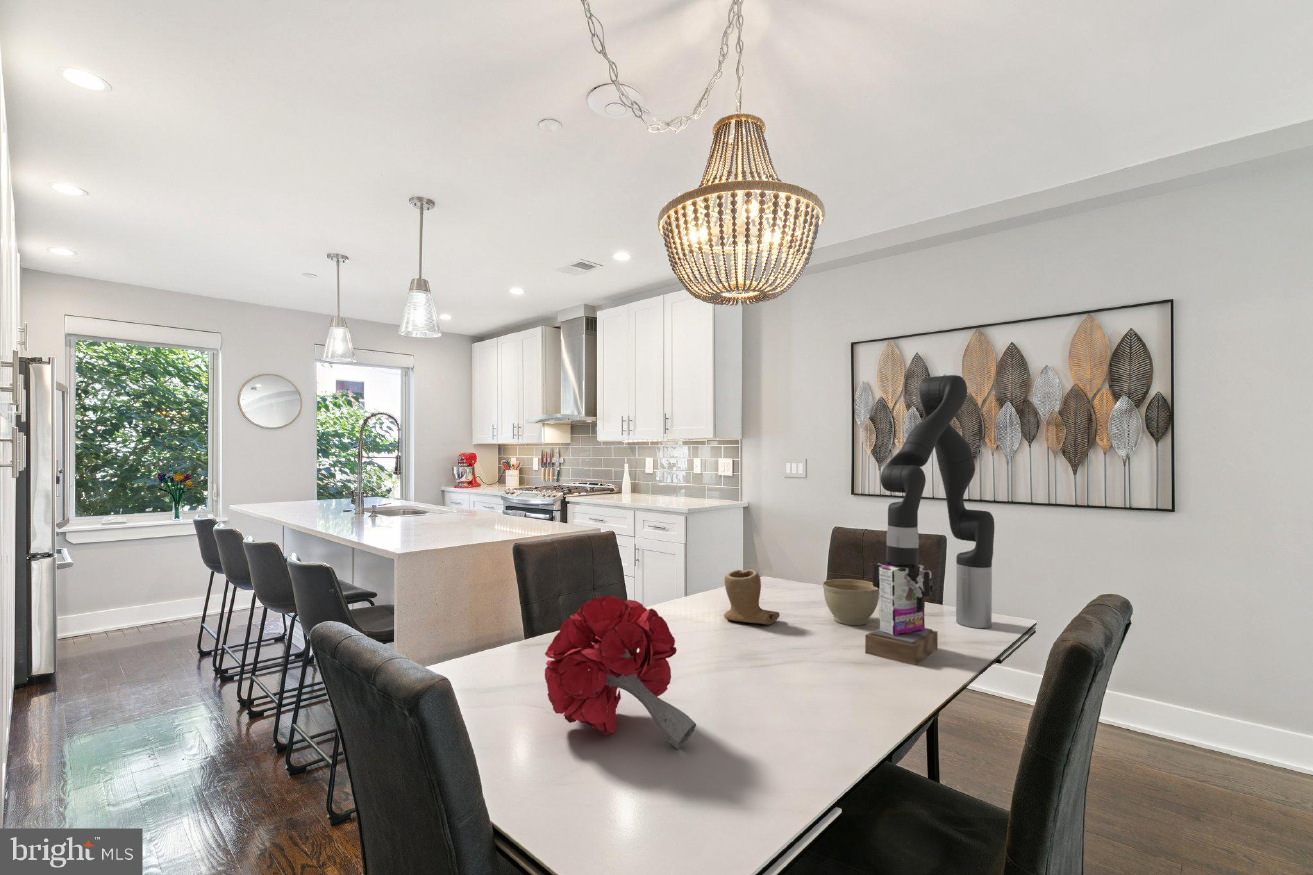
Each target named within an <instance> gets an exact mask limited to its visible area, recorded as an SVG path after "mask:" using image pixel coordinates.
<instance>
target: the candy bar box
mask: <svg viewBox="0 0 1313 875" xmlns="http://www.w3.org/2000/svg"><path fill="white" fill-rule="evenodd" d="M918 567H919V569H920V570H922V571H925V568H924V567H925V566H924V565H922V564H918ZM906 573H907V574H908V568H905V567H898V566H883V567H879V600H878V604H879V628H880V631H881V632H883V633H887V634H890V635H893V636H897V635H902V634H908V633H913V632H918V631H923V630H925V628H926V627H925V625H926V624H925V623H926V622H925V609H924V610H922V612H920V613H919V612H917V611H916V597H918V596H917V594H916V593H915V591H914V590H913V589H912V588H911V587H910V585H909V584H908V583H907V579H906ZM917 580H918V581H919V582H920V584H921V587H922V588H923V590H924V591H925V589H924V580H923V579H922V577H921V575H919V576H918V578H917ZM914 583H916V582H915V581H914Z"/></svg>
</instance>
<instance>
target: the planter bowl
mask: <svg viewBox="0 0 1313 875" xmlns="http://www.w3.org/2000/svg"><path fill="white" fill-rule="evenodd" d="M822 586H823V587H822V588H823V596H824V600H825V603H826V605H827V607H828V610H829V611H830V613H831V614H832V615H833V620H834V621H835V622H837V623H840V624H842V625H843V624H844V625H848V626H849V625H850V626H862V625H863V626H864V625H867V624H868V623H869V620H870V618H871V617H872V615H873V614H874V612H875V611H876V608H877V607H878V604H879V601H880V598H879V597H880V594H879V589H878V588H877V587H874V586H873V581H872V582H871V581H868V580H867V581H866V580H861V579H859V580H858V579H850V578H848V579H847V578H846V579H845V578H844V579H843V578H842V579H841V578H840V579H838V578H837V579H828V580H824V581H823V582H822Z"/></svg>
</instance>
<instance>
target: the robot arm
mask: <svg viewBox="0 0 1313 875" xmlns="http://www.w3.org/2000/svg"><path fill="white" fill-rule="evenodd" d="M918 393H919V400H920V403H921V406H922V410H923V412H924V416H925V418H924V419H923V420H921V421H920V422H919V423H918V424H916V426H914V427H913V428H912V430H910V432H909V434H907V437H906V439H905V441H904V443H903V445H902V447H901V449H900V450H899V451H898V452H897V453H895V454H894V456H893V457H892V458H891V459H889V461H888V462H887V463H886V464H885V465H884V467H883V469H882V471H881V473H880V484H881V486H882V488H883V490H885V491H887V492H890V493H900V494H901V493H902V494H904V497H903V499H902V500H901V501H895V502H891V503H890V504H888V508H887V529H886V530H887V531H886V564H882V563H881V562H878V563H875V564H874V565H873V575H872V583H873V586H874V587H877V588H878V589H879V567H883V566H898V567H905V568H908V574H907V573H906V579H907V583H908V584H909V585H910V587H911V588H912V589H913V590H914V591H915V593H916V594H917V596H918V597H916V611H917V612H919V613H920V612H922V610H924V611H925V608H926V607H925V605H926V602H925V601H926V599H925V598H926V597H930V596H931V595H933V594H934V584H933V583H934V580H933V571H932V570H930V569H928V570H924V571H922V570H920V569H919V567H918V565H919V562H920V561H919V555H920V554H919V553H920V552H919V551H920V549H919V548H920V547H919V546H920V540H919V537H920V536H919V527H918V526H919V525H918V522H919V521H918V520H919V519H918V516H919V515H918V513H919V512H918V511H919V507H920V503H921V500H922V497H923V493H924V490H925V487H926V481H927V480H926V474H925V472H924V470H923V469H922V468H921V467H924V466H925V465H926V464H927V463H928V461H929V459H930V458H931V455H932V453H933V451H934V450H935V455H936V456H935V457H936V461H937V465H938V469H939V473H940V476H941V480H942V484H943V485H942V486H943V488H944V493H945V494H944V495H945V498H946V507H947V513H948V515H947V516H948V521H949V527H950V531H951V533H952V536H953V537H954V538H956V539H957V540H961V541H967V542H975V544H974V548H972V549H970V550H967V551H963V552H959V553H957V554H956V558H955V561H956V565H955V566H956V572H955V573H956V577H955V581H956V583H955V586H956V592H955V594H956V595H955V596H956V597H955V598H956V602H955V604H956V605H955V622H956V623H957V624H959V625H962V626H965V627H970V628H977V629H988V628H991V627H992V626H993V625H992V621H993V619H992V616H993V614H992V613H993V611H992V610H993V608H992V607H993V606H992V605H993V602H992V600H993V590H992V587H993V582H992V581H993V579H992V578H993V566H992V565H993V556H994V541H995V539H994V538H995V528H996V527H995V520H994V516H993V513H991V512H990V511H988V510H981V509H978V510H977V509H969V508H968V509H967V508H966V506H965V503H964V502H965V501H964V496H965V492H966V491H967V489H968V487H969V485H970V483H971V482H972V480H973V477H974V476H975V471H976V465H975V464H976V463H975V460H974V455H973V450H972V448H971V446H970V444H969V443H968V442H967V440H966V439H965V438H964V437H963V436H962V435H961V434H960V433H959V432H958V431H957V430H956V429H955V428H954V426H952V424H951V422H952V421H953V420H954V418H955V417H956V416H957V414H958V413H959V412H960V410H961V409H962V407H963V406H964V404H965V402H966V400H967V396H968V386H967V382H966V380H965V379H964V378H963V377H962V376H961V375H956V374H950V375H949V374H948V375H938V376H927V377H925V378H922V380H921V381H920V384H919V389H918ZM919 575H921V577H922V579H923V580H924V590H923V588H922V587H921V584H920V582H919V581H918V580H917V578H918V576H919ZM914 581H915V582H916V583H914Z"/></svg>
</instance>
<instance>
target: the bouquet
mask: <svg viewBox="0 0 1313 875" xmlns="http://www.w3.org/2000/svg"><path fill="white" fill-rule="evenodd" d="M569 616H570V617H569V618H568V617H567V619H566V620H565V621H564V622H563V623H562V624H561V626H560V628H559V632H558V633H557V634H556V635H555V636H554V637H553V639H552V642H551V643H550V644H549V645H548V647H547V649H546V651H545V652H544V655H545V657H547V658H550V660H547V661H546V662H545V665H546V667H545V668H544V679H545V683H546V685H547V686H546V687H547V692H548V693H547V698H548V701H549V702H550V703H551V705H552V710H553V711H554V713H555V714H558V715H559V714H560V715H562V714H563V717H564V720H566V722H568V723H569V724H570V723H571V724H572V723H575V722H576V721H577V722H579V723H581V724H586V725H587V726H589V727H591V728H592V729H594V730H595V729H596V730H599V731H601V732H602V733H603V734H604V735H606V736H610V735H612V734H614V732H615V731H616V729H617V707H618V705H619V702H620V700H621V698H622V696H621V695H622V694H621V691H620V690H624V691H626V692H627V693H629V694H630V695H632V696H634V698H636V699H637V700H638V701H639V702H640V703H641V704H642V705H643V707H644V708H645V710H647V711H648V714H649V715H650V717H651V718H652V720H653V722H654V723H655V725H656V726H657V728H658V729H659V731H660V732H661V734H662V735H663V736H664V737H665V739H666V740H667V741H668V742H669V743H670V744H671V745H672V746H673V747H674V748H675V749H676V750H678V749H680V748H681V747H683V745H684V744H685V743H686V742H687V741H688V739H689V738H690V737H691V735H692V734H693V733H694V731H695V729H696V727H697V723H696V722H695V721H694V720H693V719H692V718H691V717H690V716H689V715H688V714H686V713H685V712H684V711H682V710H680V709H679V708H677V707H675V706H673V705H672V704H670V703H669V702H667V701H665V700H663V699H661V697H660V696H661V695H664V694H665V693H666V692H667V691H668V686H669V685H670V684H671V679H672V670H671V666H670V663H669V661H668V660H667V659H669V658H672V657H674V655H676V654H677V650H678V649H677V647H675V644H676V639H675V637H674V636H673V634H672V632H671V631H670V628H669V626H668V623H667V621H666V620H665V619H664V618H663V617H662V616H660V615H659V613H658V611H657V610H655V609H654V608H649V609H648V608H646V607H645V606H644V605H643V604H642V603H640V602H638V601H637V600H633V599H628V600H624V599H621V598H619V597H616V596H610V595H608V596H597V597H593V598H592V599H590V600H588V601H586V602H585V603H583V604H582V605H581V606H580V607H579V608H578V610H577V611H576V612H574V613H572V614H571V615H569ZM638 649H639V650H638ZM617 690H618V691H617Z"/></svg>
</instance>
